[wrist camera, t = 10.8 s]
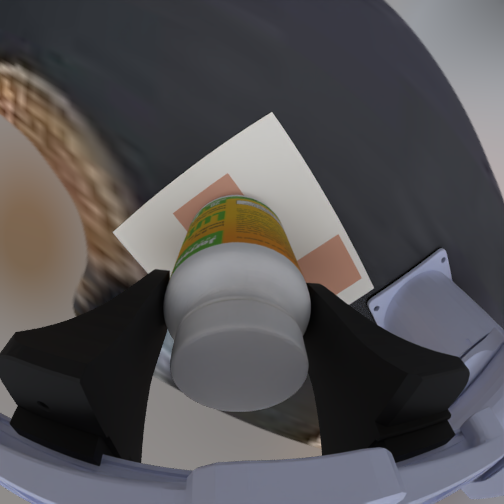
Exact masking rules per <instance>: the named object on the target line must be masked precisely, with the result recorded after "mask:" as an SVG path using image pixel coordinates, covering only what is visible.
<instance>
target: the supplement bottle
mask: <svg viewBox="0 0 504 504" xmlns="http://www.w3.org/2000/svg"><path fill="white" fill-rule="evenodd" d="M163 311H164V319H165V323H166V326H167V328H168V331H169V333H170V335H171V337H172V338H173V339H174V344H173V349H172V355H171V360H170V370H171V375H172V378H173V380H174V382H175V384H176V385H177V387H178V388H179V389H180V390H181V391H182V392H183V393H184V394H185V395H186V396H187V397H189V398H190V399H192V400H193V401H195V402H197V403H200V404H202V405H204V406H207V407H210V408H213V409H217V410H223V411H232V412H247V411H255V410H260V409H265V408H268V407H271V406H274V405H276V404H279V403H281V402H282V401H284V400H286V399H288V398H289V397H291V396H292V395H293V394H294V393H295V392H297V391H298V390H299V388H300V387H301V386H302V385H303V383H304V381H305V379H306V377H307V374H308V368H309V364H308V357H307V353H306V349H305V345H304V340H303V335H304V333H305V331H306V329H307V326H308V323H309V320H310V314H311V300H310V295H309V291H308V288H307V284H306V281H305V279H304V276H303V274H302V272H301V269H300V267H299V265H298V262H297V260H296V257H295V255H294V253H293V250H292V248H291V245H290V243H289V241H288V238H287V236H286V233H285V231H284V228H283V226H282V224H281V222H280V220H279V218H278V217H277V215H276V214H275V213H274V211H273V210H272V209H271V208H270V207H268V206H267V205H266V204H265V203H263V202H261V201H260V200H257V199H255V198H252V197H249V196H244V195H228V196H223V197H220V198H217V199H215V200H213V201H211V202H209V203H208V204H206V205H205V206H204V207H203V208H202V209H201V210H200V211H199V212H198V213H197V214H196V216H195V217H194V219H193V221H192V223H191V225H190V227H189V229H188V232H187V234H186V237H185V239H184V242H183V244H182V247H181V249H180V252H179V255H178V258H177V260H176V263H175V266H174V268H173V271H172V274H171V276H170V279H169V282H168V285H167V289H166V292H165V296H164V303H163Z"/></svg>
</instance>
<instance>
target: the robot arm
mask: <svg viewBox="0 0 504 504" xmlns="http://www.w3.org/2000/svg"><path fill="white" fill-rule="evenodd" d="M442 258H443V259H442ZM169 279H170V271H169V270H159V269H154V270H153V271H151V272H150V273H149V274H147V275H146V276H145V277H143V278H142V279H141V280H139V281H138V282H137V283H135V284H134V285H133V286H131V287H130V288H128V289H127V290H125V291H124V292H122V293H121V294H119V295H118V296H116V297H115V298H113V299H112V300H110V301H108V302H107V303H105V304H103V305H101V306H99V307H97V308H95V309H93V310H91V311H89V312H87V313H84V314H82V315H79V316H77V317H74V318H72V319H69V320H67V321H64V322H60V323H57V324H54V325H50V326H46V327H42V328H37V329H32V330H26V331H20V332H15V334H14V335H13V336H12V338H11V339H10V340H9V342H8V343H7V344H6V346H5V347H4V349H3V350H2V351H1V353H0V378H1V380H2V382H3V384H4V385H5V387H6V388H7V390H8V392H9V393H10V395H11V396H12V398H13V399H14V401H15V402H16V404H17V405H18V407H17V409H16V411H15V413H14V415H13V417H12V419H11V418H9V417H7V416H5V415H3V414H2V413H0V485H1V486H3V487H5V488H6V489H8V490H9V491H11V492H13V493H14V494H16V495H18V496H19V497H21V498H23V499H25V500H26V501H28V502H30V503H32V504H435V503H436V502H438V501H440V500H442V499H444V498H446V497H447V496H449V495H451V494H453V493H454V492H456V491H458V490H459V489H461V490H462V491H463V492H464V493H465V494H466V495H467V496H468V497H469V498H470V499H482V498H483V499H484V498H491V497H498V496H504V330H503V329H502V328H501V327H500V326H499V325H498V324H497V323H496V322H495V321H494V320H493V319H492V318H491V317H490V316H489V315H488V314H487V313H486V312H485V311H484V310H483V309H482V308H481V307H480V306H479V305H478V304H477V303H476V302H475V301H474V300H473V299H471V298H470V297H469V296H468V295H467V294H466V293H465V292H464V291H463V290H462V289H460V288H459V287H458V286H457V285H456V284H455V283H454V282H453V281H452V277H451V272H450V267H449V262H448V257H447V253H446V250H444V249H443V248H440V249H438V250H437V251H436V252H434V253H433V254H432V255H431V256H429V257H428V258H427V259H425V260H424V261H423V262H421V263H420V264H419V265H417V266H416V267H415V268H413V269H412V270H411V271H409V272H408V273H407V274H405V275H404V276H402V277H401V278H400V279H398V280H397V281H395V282H394V283H392V284H391V285H390V286H388V287H387V288H385V289H384V290H382V291H381V292H379V293H378V294H376V295H375V296H373V297H372V298H371V299H369V301H368V303H367V305H368V307H369V309H370V311H371V313H372V315H373V317H374V319H375V321H376V323H377V324H375V323H373V322H372V321H370V320H369V319H367V318H366V317H364V316H363V315H362V314H360V313H359V312H357V311H356V310H355V309H353V308H352V307H351V306H349V305H348V304H347V303H345V302H344V301H343V300H342V299H340V298H339V297H338V296H337V295H335V294H334V293H333V292H331V291H330V290H329V289H327V288H326V287H325V286H323V285H321V284H319V283H306V284H307V288H308V291H309V295H310V300H311V314H310V320H309V323H308V326H307V329H306V331H305V333H304V335H303V340H304V345H305V349H306V353H307V357H308V364H309V368H308V373H309V376H310V380H311V383H312V386H313V390H314V395H315V401H316V407H317V413H318V420H319V427H320V436H321V447H322V456H317V457H307V458H297V459H284V460H261V461H260V460H259V461H235V462H218V463H214V464H210V465H205V466H201V467H198V468H196V469H195V470H193V471H191V470H181V469H174V468H166V467H160V466H154V465H148V464H143V463H141V457H142V443H143V432H144V423H145V416H146V408H147V401H148V396H149V390H150V384H151V380H152V376H153V373H154V370H155V367H156V363H157V360H158V357H159V354H160V351H161V348H162V345H163V342H164V339H165V336H166V333H167V326H166V323H165V319H164V311H163V303H164V296H165V292H166V289H167V285H168V282H169ZM376 306H377V307H376ZM375 307H376V308H375ZM374 308H375V309H374Z"/></svg>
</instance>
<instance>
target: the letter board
mask: <svg viewBox="0 0 504 504" xmlns="http://www.w3.org/2000/svg"><path fill="white" fill-rule="evenodd" d="M228 195H244V196H249V197H252V198H255V199H257V200H260V201H261V202H263V203H265V204H266V205H267V206H268V207H270V208H271V209H272V210H273V211H274V213H275V214H276V215H277V217H278V218H279V220H280V222H281V224H282V226H283V228H284V231H285V233H286V236H287V238H288V241H289V243H290V245H291V248H292V250H293V253H294V255H295V257H296V260H297V262H298V265H299V267H300V269H301V272H302V274H303V276H304V279H305V281H306V283H319V284H321V285H323V286H325V287H326V288H327V289H329V290H330V291H331V292H333V293H334V294H335V295H337V296H338V297H339V298H340V299H342V300H343V301H344V302H345V303H347V304H348V305H349V304H351V303H352V302H354V301H355V300H357V299H358V298H360V297H362V296H363V295H365V294H366V293H368V292H369V291H371V290H372V289H374V287H373V285H372V283H371V281H370V279H369V277H368V274H367V272H366V270H365V268H364V266H363V264H362V262H361V260H360V258H359V256H358V254H357V252H356V250H355V249H354V247H353V245H352V243H351V241H350V239H349V237H348V235H347V233H346V231H345V230H344V228H343V226H342V224H341V222H340V220H339V219H338V217H337V215H336V213H335V211H334V210H333V208H332V206H331V204H330V203H329V201H328V199H327V197H326V196H325V194H324V192H323V191H322V189H321V187H320V186H319V184H318V182H317V181H316V179H315V177H314V176H313V174H312V172H311V171H310V169H309V167H308V166H307V164H306V163H305V161H304V159H303V158H302V156H301V155H300V153H299V152H298V150H297V148H296V147H295V145H294V144H293V142H292V141H291V139H290V138H289V136H288V135H287V133H286V132H285V130H284V129H283V127H282V126H281V124H280V123H279V121H278V120H277V119H276V117H275V116H274V114H273V113H272V112H271V113H269V114H268V115H266V116H265V117H263V118H261V119H260V120H258V121H257V122H255V123H254V124H252V125H250V126H249V127H247V128H246V129H244V130H243V131H241V132H240V133H238V134H237V135H235V136H234V137H232V138H231V139H230V140H228V141H227V142H225V143H224V144H222V145H221V146H219V147H218V148H217V149H215V150H214V151H212V152H211V153H210V154H208V155H207V156H205V157H204V158H203V159H201V160H200V161H199V162H197V163H196V164H195V165H193V166H192V167H191V168H189V169H188V170H187V171H185V172H184V173H183V174H181V175H180V176H179V177H178V178H176V179H175V180H174V181H172V182H171V183H170V184H169V185H167V186H166V187H165V188H164V189H162V190H161V191H160V192H159V193H157V194H156V195H155V196H154V197H153V198H151V199H150V200H149V201H148V202H147V203H145V204H144V205H143V206H142V207H141V208H140V209H138V210H137V211H136V212H135V213H134V214H133V215H131V216H130V217H129V218H128V219H127V220H126V221H125V222H124V223H122V224H121V225H120V226H119V227H118V228H117V229H116V230H115V231H114V232H113V233H114V235H115V236H116V237H117V238H118V239H119V241H120V242H121V243H122V244H123V245H124V246H125V248H126V249H127V250H128V251H129V252H130V253H131V255H132V256H133V257H134V258H135V259H136V260H137V261H138V263H139V264H140V265H141V266H142V267H143V268H144V269H145V270H146V272H147V273H148V274H149V273H150V272H151V271H153V270H154V269H159V270H169V271H170V276H171V274H172V271H173V268H174V266H175V263H176V260H177V258H178V255H179V252H180V249H181V247H182V244H183V242H184V239H185V237H186V234H187V232H188V229H189V227H190V225H191V223H192V221H193V219H194V217H195V216H196V214H197V213H198V212H199V211H200V210H201V209H202V208H203V207H204V206H205V205H206V204H208V203H209V202H211V201H213V200H215V199H217V198H220V197H223V196H228Z"/></svg>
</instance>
